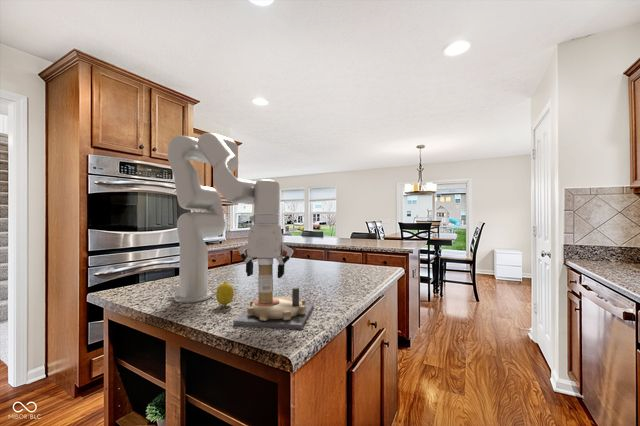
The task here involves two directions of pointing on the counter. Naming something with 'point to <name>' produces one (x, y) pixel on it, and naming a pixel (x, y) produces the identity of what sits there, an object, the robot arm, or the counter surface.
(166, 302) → the counter surface
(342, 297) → the counter surface
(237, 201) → the robot arm
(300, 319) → the dial base
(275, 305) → the sprocket dial
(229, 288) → the lemon
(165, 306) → the counter surface
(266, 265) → the sprinkles bottle
